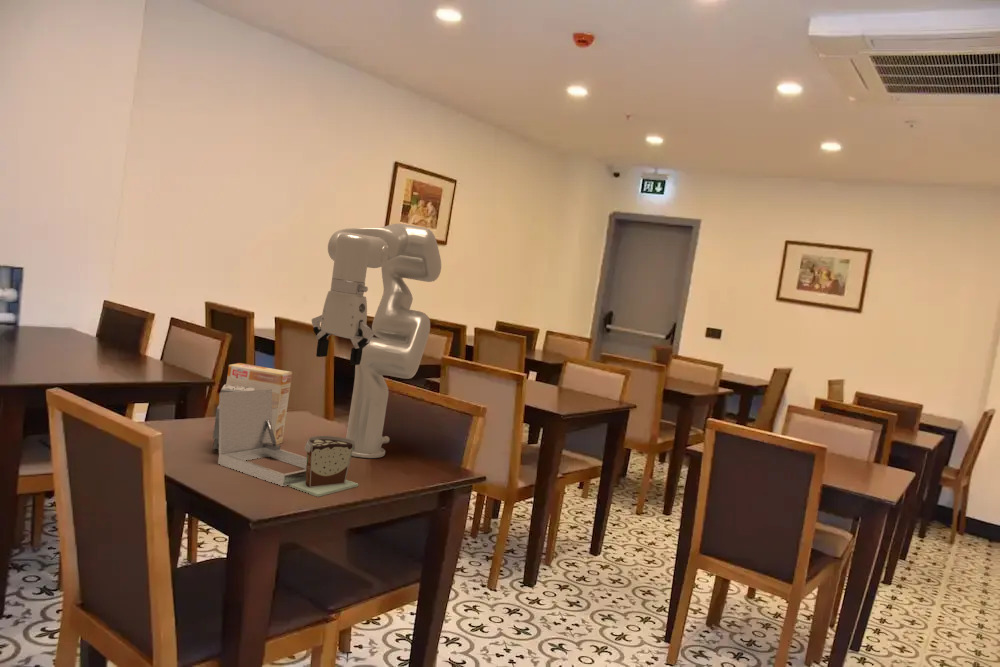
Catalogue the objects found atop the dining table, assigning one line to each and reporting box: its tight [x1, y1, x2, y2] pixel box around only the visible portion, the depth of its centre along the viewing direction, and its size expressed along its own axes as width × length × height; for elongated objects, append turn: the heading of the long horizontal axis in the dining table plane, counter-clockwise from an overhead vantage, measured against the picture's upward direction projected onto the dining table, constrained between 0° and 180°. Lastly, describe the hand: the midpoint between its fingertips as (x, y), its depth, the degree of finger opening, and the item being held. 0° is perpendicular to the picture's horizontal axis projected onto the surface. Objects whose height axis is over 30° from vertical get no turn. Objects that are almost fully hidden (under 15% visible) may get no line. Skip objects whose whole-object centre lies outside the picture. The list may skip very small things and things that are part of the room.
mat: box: [289, 479, 359, 498], centre depth 169 cm, size 14×8×1 cm, turn 153°
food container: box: [304, 435, 355, 488], centre depth 170 cm, size 12×6×10 cm, turn 138°
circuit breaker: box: [212, 383, 255, 451], centre depth 186 cm, size 8×14×15 cm, turn 15°
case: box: [217, 389, 307, 487], centre depth 176 cm, size 16×23×16 cm
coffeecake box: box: [225, 362, 293, 445], centre depth 199 cm, size 15×7×20 cm, turn 84°
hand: (337, 360), depth 175 cm, fingers open, 9 cm apart
